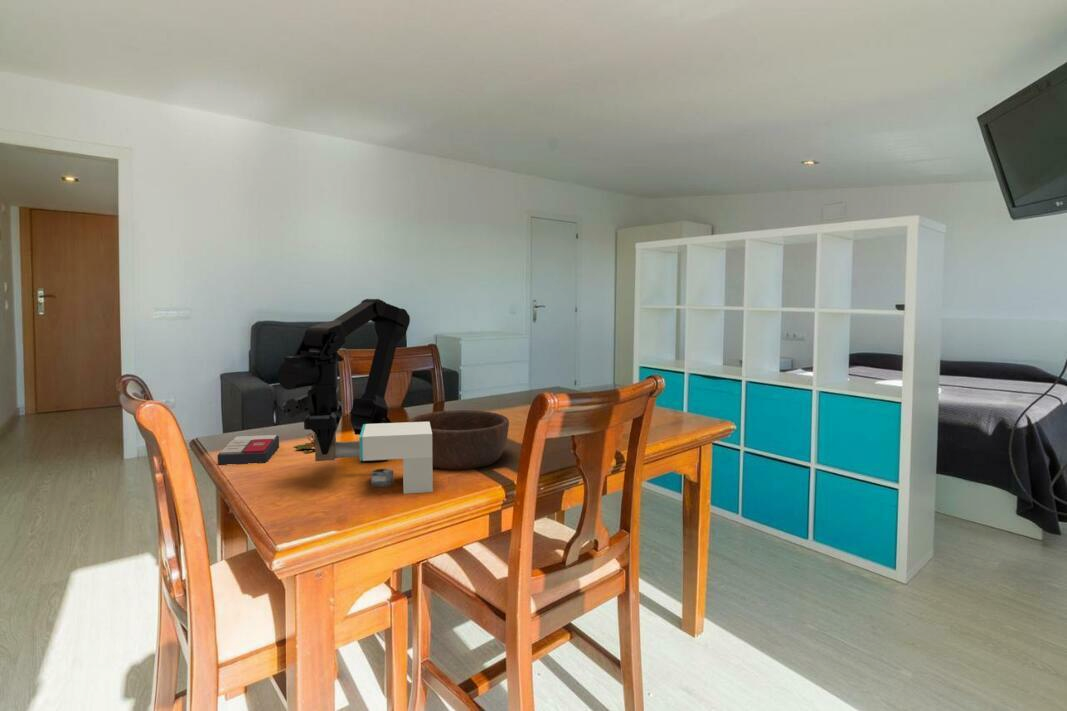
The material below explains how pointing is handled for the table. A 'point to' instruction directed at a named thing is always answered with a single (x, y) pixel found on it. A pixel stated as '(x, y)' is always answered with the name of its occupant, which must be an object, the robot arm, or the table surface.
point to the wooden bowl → (465, 438)
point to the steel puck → (382, 478)
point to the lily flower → (307, 445)
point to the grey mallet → (337, 450)
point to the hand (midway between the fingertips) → (326, 451)
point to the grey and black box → (249, 450)
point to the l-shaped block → (402, 450)
